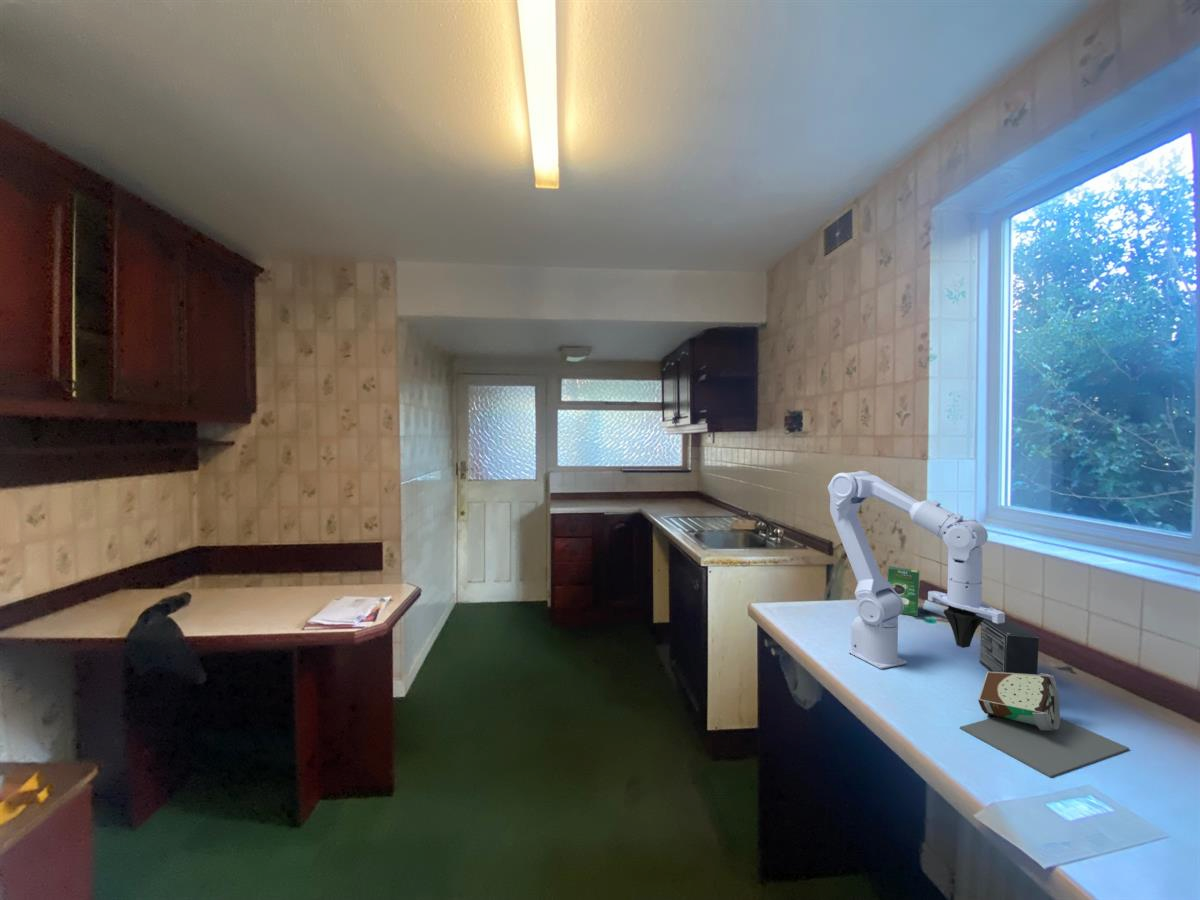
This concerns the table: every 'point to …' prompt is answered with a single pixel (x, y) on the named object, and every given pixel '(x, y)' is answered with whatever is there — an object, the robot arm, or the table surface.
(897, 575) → the coffee box
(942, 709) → the table surface
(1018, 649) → the small box
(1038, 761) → the mat
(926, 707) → the table surface
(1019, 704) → the food container
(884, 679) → the table surface
